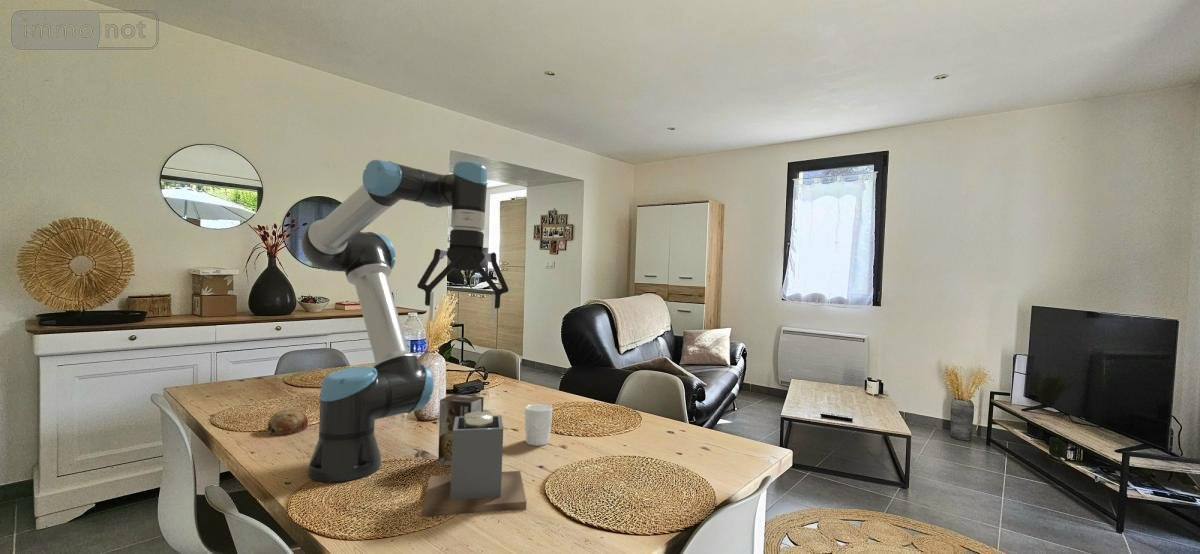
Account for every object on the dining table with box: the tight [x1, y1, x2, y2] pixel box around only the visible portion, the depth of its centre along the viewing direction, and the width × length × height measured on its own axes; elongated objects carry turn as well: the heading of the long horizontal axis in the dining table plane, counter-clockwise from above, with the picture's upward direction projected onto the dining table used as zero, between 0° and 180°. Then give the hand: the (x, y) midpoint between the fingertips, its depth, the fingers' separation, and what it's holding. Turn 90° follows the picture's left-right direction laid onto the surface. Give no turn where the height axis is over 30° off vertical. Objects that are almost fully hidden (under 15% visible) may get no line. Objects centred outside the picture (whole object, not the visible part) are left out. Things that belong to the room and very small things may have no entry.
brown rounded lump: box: [267, 408, 309, 436], centre depth 139 cm, size 10×10×8 cm
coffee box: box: [437, 393, 485, 466], centre depth 120 cm, size 9×6×16 cm
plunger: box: [464, 411, 494, 429], centre depth 102 cm, size 8×8×15 cm
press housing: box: [450, 414, 504, 501], centre depth 102 cm, size 10×10×14 cm
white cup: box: [524, 403, 553, 447], centre depth 137 cm, size 8×8×10 cm
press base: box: [421, 470, 527, 518], centre depth 102 cm, size 20×16×2 cm
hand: (462, 321), depth 110 cm, fingers open, 13 cm apart
